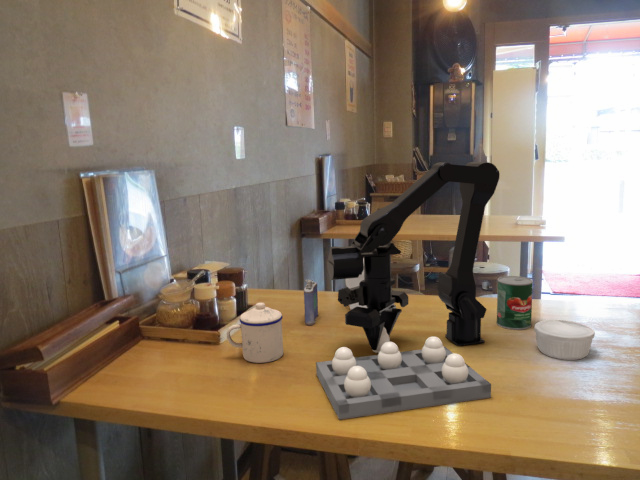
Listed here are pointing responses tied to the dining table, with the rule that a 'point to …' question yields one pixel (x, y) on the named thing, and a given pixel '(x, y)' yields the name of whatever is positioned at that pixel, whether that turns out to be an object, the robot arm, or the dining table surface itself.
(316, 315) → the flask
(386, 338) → the cream game piece
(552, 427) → the dining table surface
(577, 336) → the ramekin
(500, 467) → the dining table surface
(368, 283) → the robot arm
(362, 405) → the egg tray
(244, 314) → the teacup with lid
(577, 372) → the dining table surface
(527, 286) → the canned tomato
